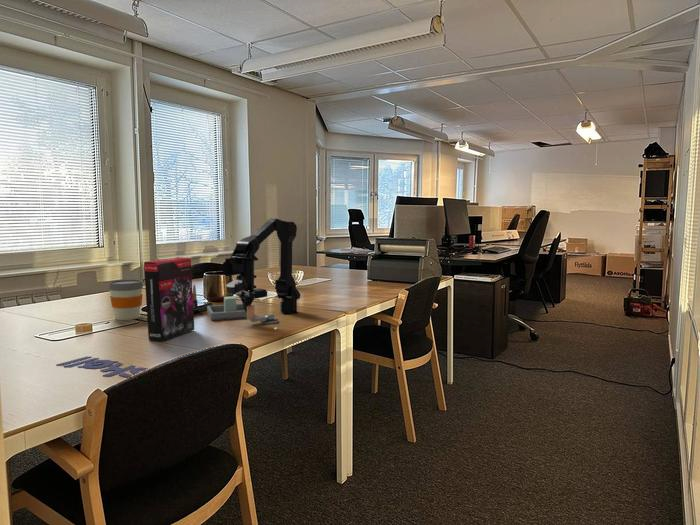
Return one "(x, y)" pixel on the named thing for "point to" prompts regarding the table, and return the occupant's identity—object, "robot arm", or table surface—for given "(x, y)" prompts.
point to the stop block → (229, 304)
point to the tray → (219, 314)
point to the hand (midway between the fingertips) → (246, 311)
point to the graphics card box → (169, 297)
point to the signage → (103, 366)
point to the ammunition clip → (194, 297)
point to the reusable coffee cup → (126, 298)
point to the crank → (253, 319)
